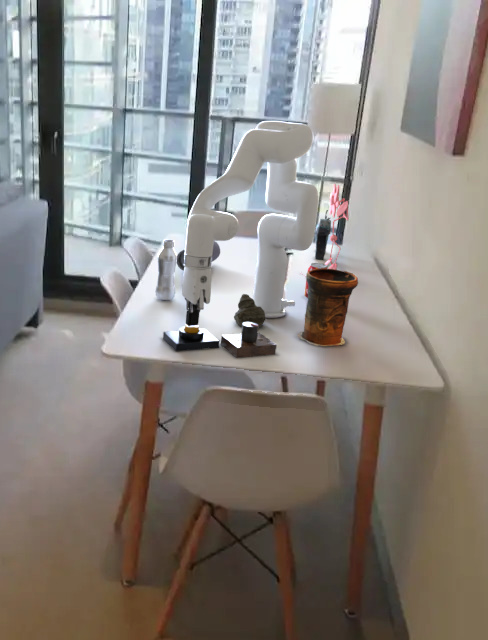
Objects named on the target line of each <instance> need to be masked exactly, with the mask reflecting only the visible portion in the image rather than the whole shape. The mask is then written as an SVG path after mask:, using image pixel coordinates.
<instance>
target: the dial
mask: <svg viewBox="0 0 488 640" xmlns="http://www.w3.org/2000/svg"><path fill="white" fill-rule="evenodd" d="M259 328H260V327H259V325H258V324H257V323H253V322H244V323H243V325H242V326H241V333H240V334H241V340H242V341H245V342H256V341H257V335H258V333H259Z"/></svg>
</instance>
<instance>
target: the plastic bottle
mask: <svg viewBox="0 0 488 640" xmlns="http://www.w3.org/2000/svg"><path fill="white" fill-rule="evenodd" d="M174 247H175V240H173V239H163V240H162V247H161V249H160V250H159V252H158V253H157V272H158V273H157V281H156V286H155V297H156V298H157V299H158V300H161V301H171V300H173V299H174V298H175V296H176V286H175V274H176V267H177V255H178V254H177V252H176V250H175V248H174Z"/></svg>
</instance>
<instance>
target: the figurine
mask: <svg viewBox="0 0 488 640" xmlns="http://www.w3.org/2000/svg"><path fill="white" fill-rule="evenodd" d="M329 194H330V195H329V209H328V213H329V216H331V215H332V218H333V221H332V234H331V235H330V237H329V241H330V242H332V245H331V250H330V254H329V259H328V260H327V261H326V262H325V263H324V264H326V265H327V266H328V265H329V264H330V266H328V269H335V270H338V264H337V260H338V257H339V254H340V251H341V247H340V245H339V244H338V243H337V242H336V241H337V240H338V236H337V235H336V234H335V222H336V221H338V220H341V219H342V218H343V219H345V221H348V222H349V220H350V219H349V200H346V198H344V197H343V198H341V199H340V197H339V196H340V185H339V184H336V183H333V187H332V192H331V193H329ZM341 203H342V204H341ZM345 212H346V213H345ZM335 217H336V219H335ZM334 244H335V245H336V246H337V248H339V249H338V252H337V254H336V258H335V260H334V263H333V261H332V260H333V259H334V258H333V257H332V253H333V248H334ZM300 274H301V275H303V276H304V274H303V273H302V272H300Z"/></svg>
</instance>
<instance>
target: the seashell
mask: <svg viewBox="0 0 488 640" xmlns="http://www.w3.org/2000/svg"><path fill="white" fill-rule="evenodd" d="M252 298H253V297H251V296H250V295H249V294H246V293H243V294H241V297H240V298H239V302H238V303H237V307H238V310H237V311H236V312H235V313H234V315H233V319H234V321H235V324H236V325H238V326H240V327H242V325H243V323H244V322H253V323H257V324H258V325H259V327H258V328H260V327H263V326H264V323H265V322H266V317H265V313H264V310H263V309H262V308H261V307H257V306H256V305H255V302H254V300H253V299H252Z"/></svg>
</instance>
